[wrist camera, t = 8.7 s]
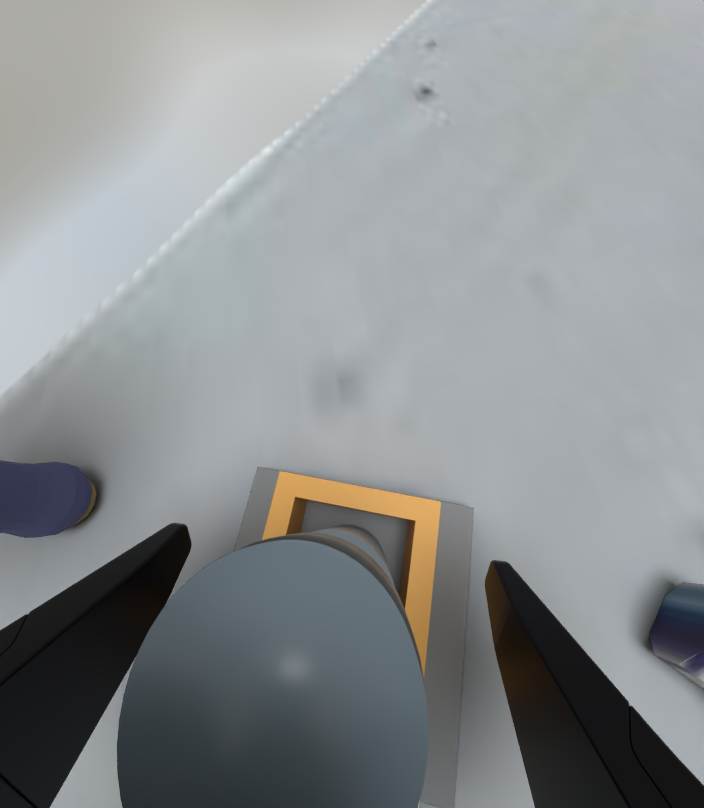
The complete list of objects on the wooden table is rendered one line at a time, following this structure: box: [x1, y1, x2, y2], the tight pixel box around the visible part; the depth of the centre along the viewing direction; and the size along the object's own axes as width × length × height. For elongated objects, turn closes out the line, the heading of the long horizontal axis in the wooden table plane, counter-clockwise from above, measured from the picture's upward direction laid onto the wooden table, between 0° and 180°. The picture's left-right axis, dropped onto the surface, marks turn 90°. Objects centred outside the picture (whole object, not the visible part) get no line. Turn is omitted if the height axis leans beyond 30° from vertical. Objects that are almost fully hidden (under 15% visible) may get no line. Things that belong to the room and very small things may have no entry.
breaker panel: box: [234, 467, 474, 808], centre depth 15 cm, size 12×12×4 cm
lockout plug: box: [117, 525, 429, 808], centre depth 10 cm, size 4×4×13 cm
